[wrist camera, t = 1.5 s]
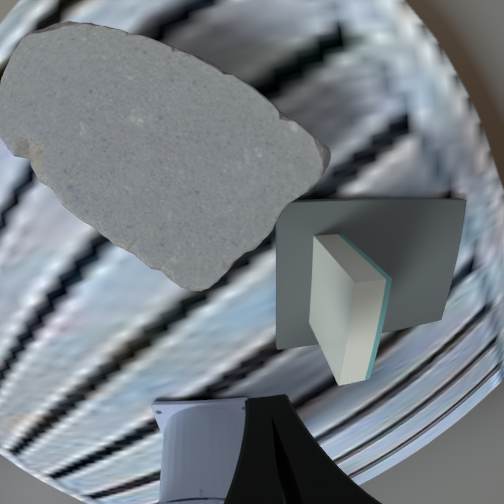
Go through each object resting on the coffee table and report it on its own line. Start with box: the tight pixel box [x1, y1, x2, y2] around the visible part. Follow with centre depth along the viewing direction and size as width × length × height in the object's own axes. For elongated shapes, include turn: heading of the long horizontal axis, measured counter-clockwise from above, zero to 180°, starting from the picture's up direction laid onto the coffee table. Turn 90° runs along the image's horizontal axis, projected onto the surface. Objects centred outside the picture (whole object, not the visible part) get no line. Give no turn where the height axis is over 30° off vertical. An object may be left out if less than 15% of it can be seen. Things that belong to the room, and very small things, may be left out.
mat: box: [276, 198, 466, 350], centre depth 20 cm, size 10×14×1 cm
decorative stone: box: [0, 21, 330, 291], centre depth 13 cm, size 15×7×10 cm
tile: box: [309, 234, 392, 386], centre depth 16 cm, size 6×2×6 cm, turn 2°
